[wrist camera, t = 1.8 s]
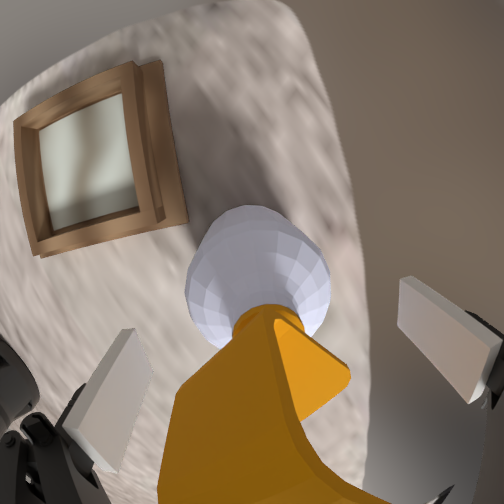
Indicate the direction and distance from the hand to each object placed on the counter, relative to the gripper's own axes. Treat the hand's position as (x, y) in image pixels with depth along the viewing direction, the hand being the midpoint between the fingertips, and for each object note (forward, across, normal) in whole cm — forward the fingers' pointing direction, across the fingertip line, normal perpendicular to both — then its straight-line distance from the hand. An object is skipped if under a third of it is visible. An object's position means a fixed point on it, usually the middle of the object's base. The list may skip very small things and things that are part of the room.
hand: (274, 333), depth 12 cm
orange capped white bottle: (+14, 0, 0) cm, 14 cm away
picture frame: (+14, -14, +12) cm, 23 cm away
